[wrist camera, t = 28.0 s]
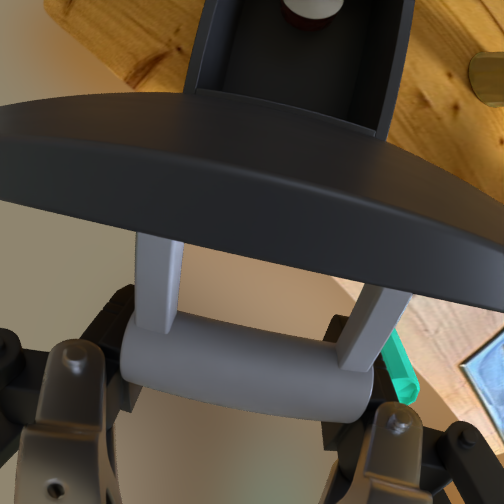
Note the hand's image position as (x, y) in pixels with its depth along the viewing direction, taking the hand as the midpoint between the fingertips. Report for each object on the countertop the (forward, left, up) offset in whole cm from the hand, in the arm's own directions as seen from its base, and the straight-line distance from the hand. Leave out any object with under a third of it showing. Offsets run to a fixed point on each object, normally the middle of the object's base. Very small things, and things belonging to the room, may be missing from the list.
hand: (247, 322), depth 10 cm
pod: (-17, 0, -20) cm, 26 cm away
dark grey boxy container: (-14, 0, -21) cm, 25 cm away
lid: (-6, 0, -2) cm, 6 cm away
